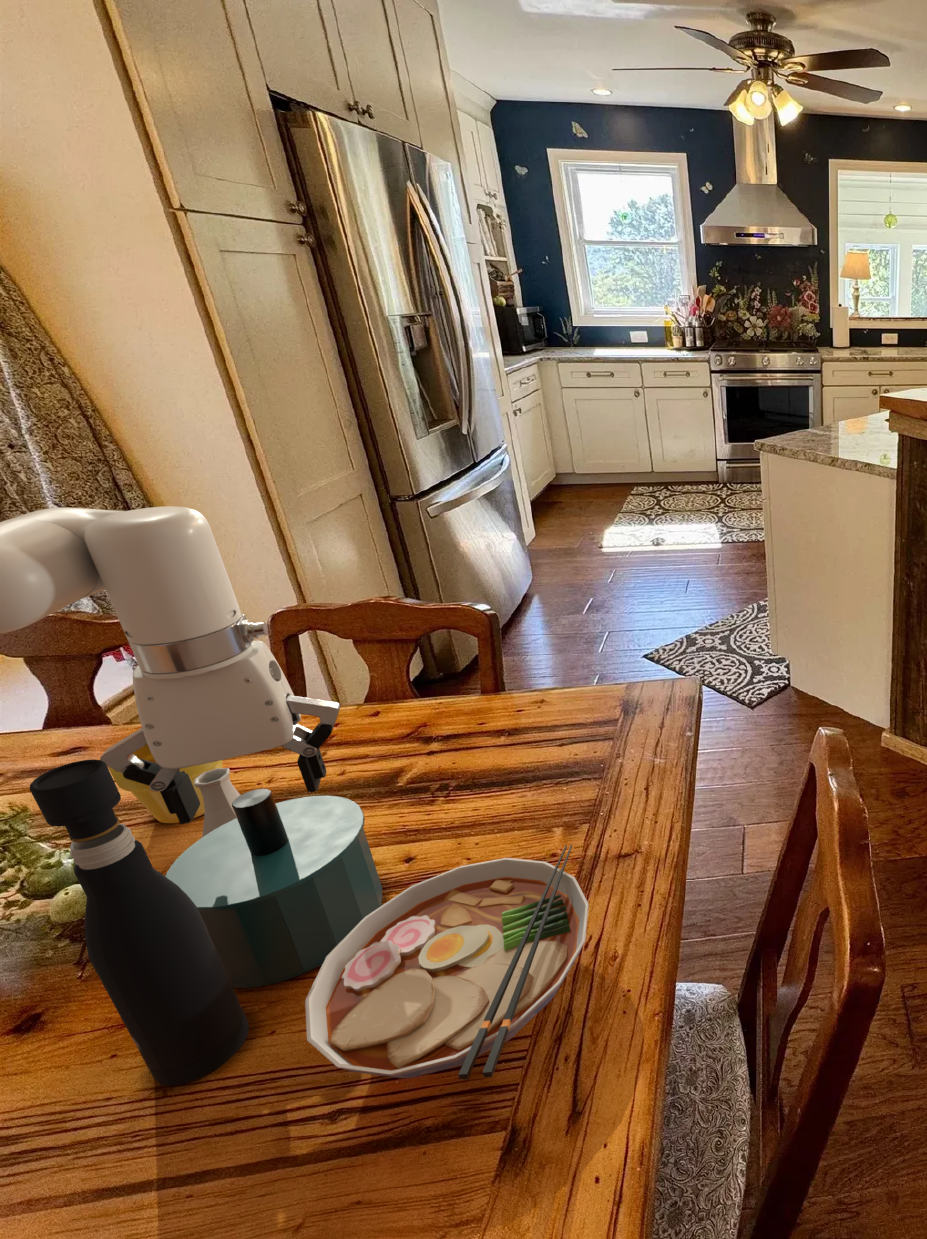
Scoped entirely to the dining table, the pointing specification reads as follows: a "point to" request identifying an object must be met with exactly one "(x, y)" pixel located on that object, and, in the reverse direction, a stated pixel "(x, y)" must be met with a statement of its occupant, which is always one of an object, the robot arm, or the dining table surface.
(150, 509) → the robot arm
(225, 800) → the flask
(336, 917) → the pot
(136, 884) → the dark water bottle
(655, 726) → the dining table surface
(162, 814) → the flower pot
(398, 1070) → the ramen bowl
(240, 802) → the lid
